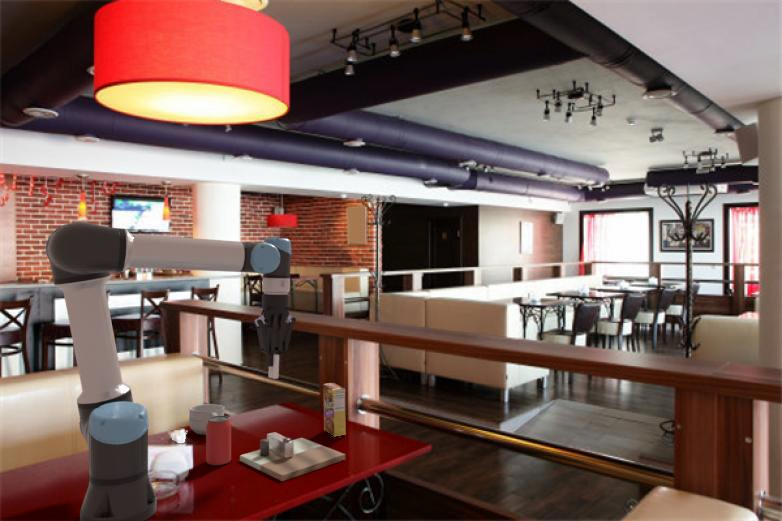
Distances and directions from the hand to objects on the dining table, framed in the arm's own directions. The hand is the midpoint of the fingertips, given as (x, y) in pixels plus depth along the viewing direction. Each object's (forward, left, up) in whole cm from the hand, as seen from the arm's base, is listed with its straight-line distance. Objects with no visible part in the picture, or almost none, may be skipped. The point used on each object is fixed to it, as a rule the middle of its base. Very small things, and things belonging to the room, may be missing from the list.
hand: (273, 377), depth 158 cm
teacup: (-2, +33, -23) cm, 41 cm away
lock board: (+3, -5, -23) cm, 23 cm away
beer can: (-12, +8, -23) cm, 27 cm away
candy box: (+26, +4, -23) cm, 35 cm away
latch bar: (+1, -1, -21) cm, 21 cm away
